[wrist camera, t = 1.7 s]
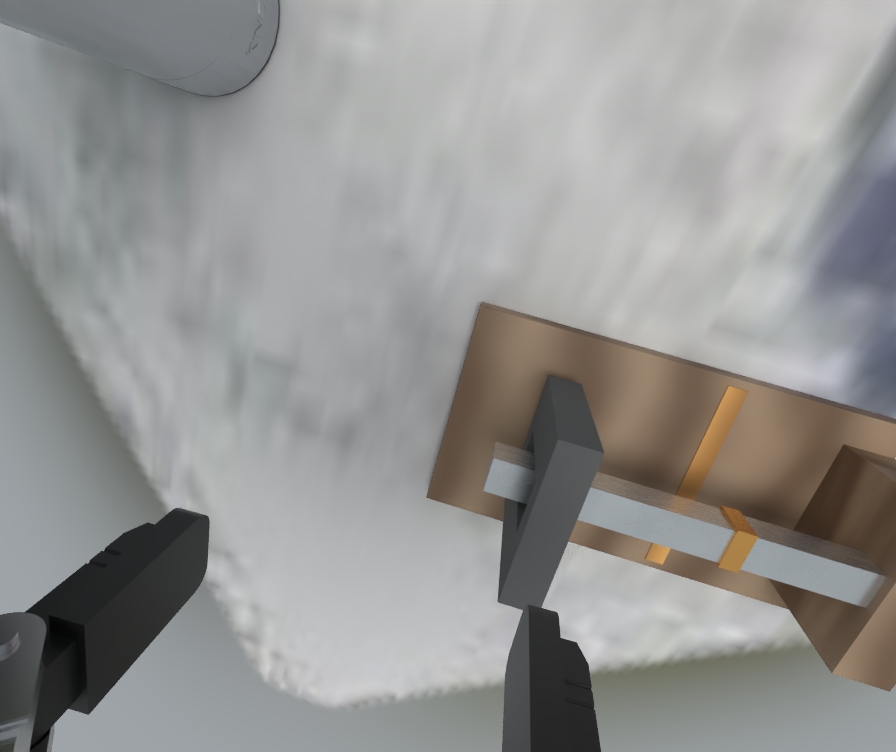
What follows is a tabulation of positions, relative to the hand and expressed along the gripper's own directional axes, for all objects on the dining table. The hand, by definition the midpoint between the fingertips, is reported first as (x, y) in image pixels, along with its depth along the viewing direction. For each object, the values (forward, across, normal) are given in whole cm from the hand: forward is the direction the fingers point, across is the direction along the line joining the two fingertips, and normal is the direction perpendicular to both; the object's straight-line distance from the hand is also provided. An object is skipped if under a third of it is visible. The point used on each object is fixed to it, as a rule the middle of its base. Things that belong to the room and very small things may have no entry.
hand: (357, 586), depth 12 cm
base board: (+22, -13, +4) cm, 26 cm away
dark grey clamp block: (+19, -6, +4) cm, 20 cm away
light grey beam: (+16, -13, +4) cm, 21 cm away
